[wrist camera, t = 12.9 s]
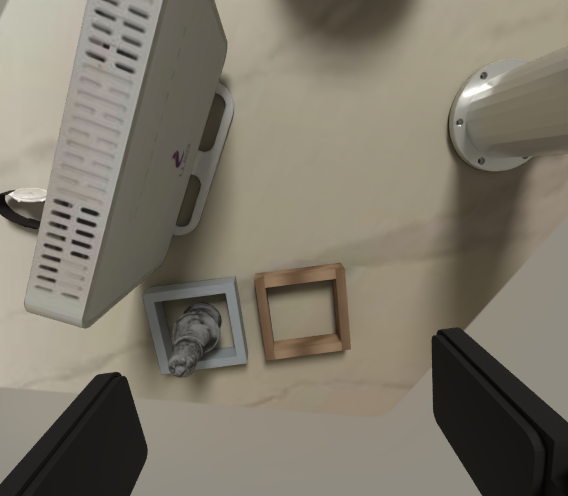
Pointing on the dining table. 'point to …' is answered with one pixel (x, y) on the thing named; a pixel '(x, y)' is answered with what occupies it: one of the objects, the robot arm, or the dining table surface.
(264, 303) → the walnut collar
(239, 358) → the slate-grey collar
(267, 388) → the dining table surface
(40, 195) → the watch
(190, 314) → the marbled chess piece
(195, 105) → the network device
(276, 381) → the dining table surface
